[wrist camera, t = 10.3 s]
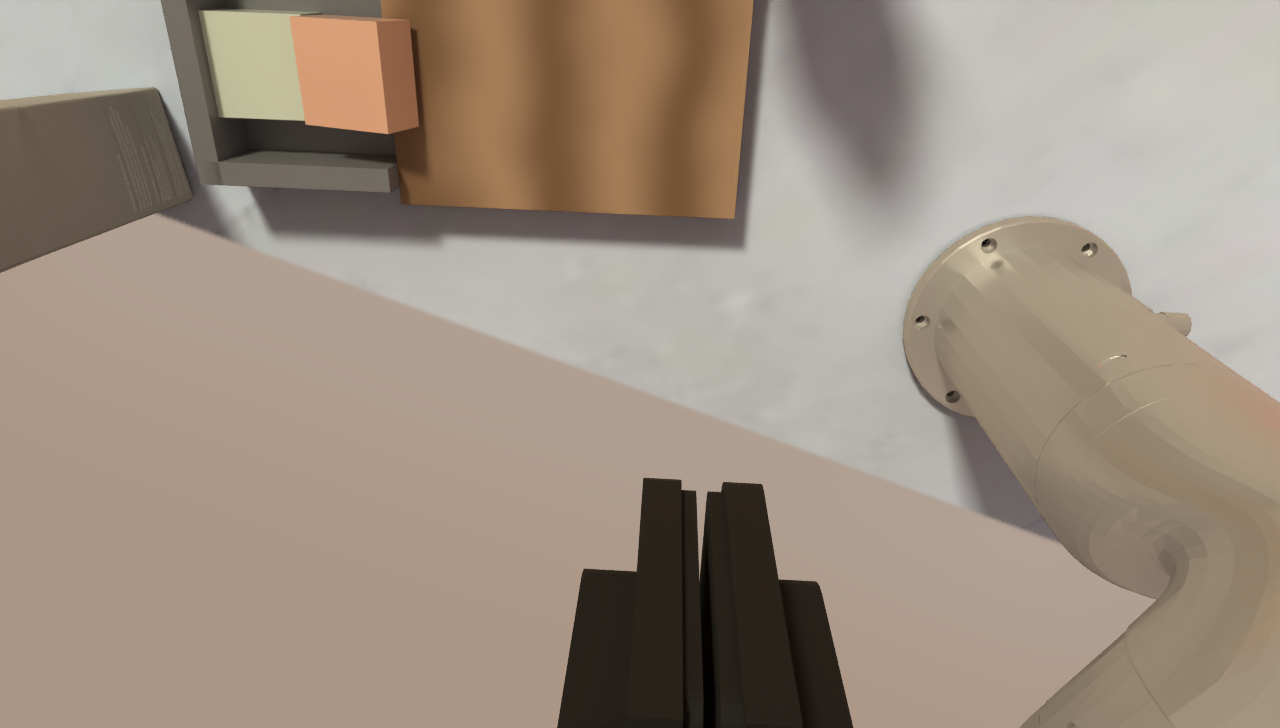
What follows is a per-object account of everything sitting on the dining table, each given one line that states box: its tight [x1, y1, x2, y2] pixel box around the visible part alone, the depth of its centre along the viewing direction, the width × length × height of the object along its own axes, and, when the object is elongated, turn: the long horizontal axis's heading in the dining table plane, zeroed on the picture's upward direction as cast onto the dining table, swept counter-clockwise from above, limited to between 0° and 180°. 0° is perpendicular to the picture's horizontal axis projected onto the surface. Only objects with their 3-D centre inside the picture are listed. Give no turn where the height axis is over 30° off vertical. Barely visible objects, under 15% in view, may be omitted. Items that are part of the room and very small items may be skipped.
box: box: [161, 0, 399, 193], centre depth 40 cm, size 10×14×4 cm
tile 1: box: [198, 9, 321, 121], centre depth 40 cm, size 5×5×2 cm
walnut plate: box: [380, 0, 754, 219], centre depth 40 cm, size 18×14×2 cm
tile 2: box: [289, 15, 419, 134], centre depth 39 cm, size 5×5×2 cm
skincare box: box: [0, 87, 193, 273], centre depth 37 cm, size 8×7×16 cm
